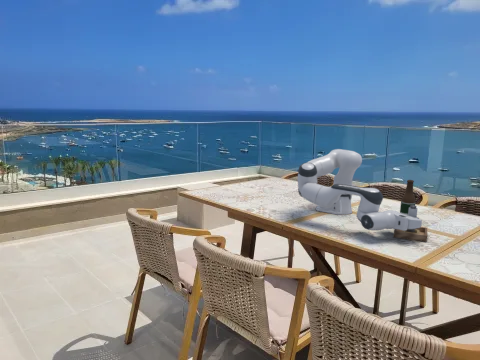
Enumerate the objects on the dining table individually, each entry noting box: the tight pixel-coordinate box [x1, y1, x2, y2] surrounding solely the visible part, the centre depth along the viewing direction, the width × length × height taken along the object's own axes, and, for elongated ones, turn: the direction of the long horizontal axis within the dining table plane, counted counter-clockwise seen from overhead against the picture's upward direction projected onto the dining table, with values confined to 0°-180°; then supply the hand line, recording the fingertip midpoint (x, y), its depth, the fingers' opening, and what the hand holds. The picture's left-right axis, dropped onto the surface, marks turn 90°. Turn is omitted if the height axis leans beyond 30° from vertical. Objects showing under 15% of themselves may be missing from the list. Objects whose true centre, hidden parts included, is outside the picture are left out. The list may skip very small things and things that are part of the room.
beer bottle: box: [399, 179, 417, 214], centre depth 211 cm, size 8×8×24 cm
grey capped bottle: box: [406, 204, 419, 232], centre depth 184 cm, size 4×4×13 cm
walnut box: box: [393, 226, 428, 243], centre depth 185 cm, size 15×15×3 cm
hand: (413, 217), depth 184 cm, fingers closed on grey capped bottle, 4 cm apart
